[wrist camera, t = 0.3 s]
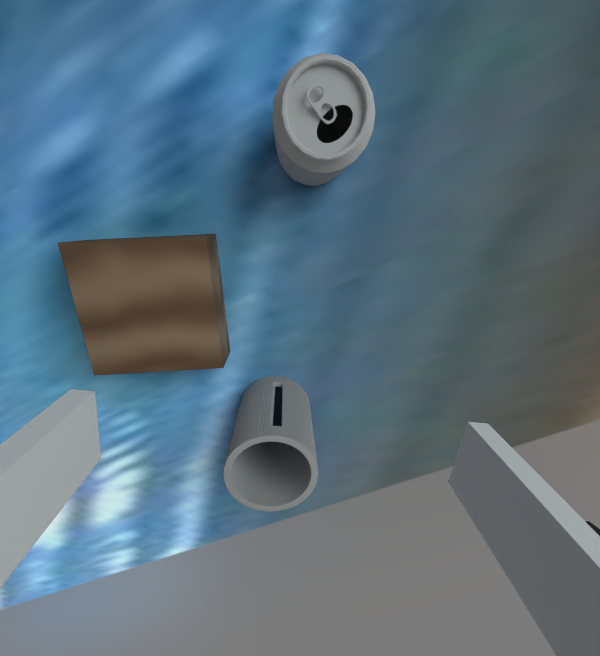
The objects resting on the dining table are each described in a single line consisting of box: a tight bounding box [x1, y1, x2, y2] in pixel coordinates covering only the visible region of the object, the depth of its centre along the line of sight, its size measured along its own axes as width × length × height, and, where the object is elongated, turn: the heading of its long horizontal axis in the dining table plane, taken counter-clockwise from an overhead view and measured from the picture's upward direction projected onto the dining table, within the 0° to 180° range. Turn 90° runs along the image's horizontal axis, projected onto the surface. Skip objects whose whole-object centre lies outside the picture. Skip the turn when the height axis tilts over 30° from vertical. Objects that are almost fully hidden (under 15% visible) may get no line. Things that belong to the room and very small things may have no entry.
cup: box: [224, 376, 318, 511], centre depth 37 cm, size 9×9×12 cm
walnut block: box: [58, 234, 230, 375], centre depth 35 cm, size 14×14×5 cm
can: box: [272, 53, 375, 186], centre depth 27 cm, size 8×8×12 cm
